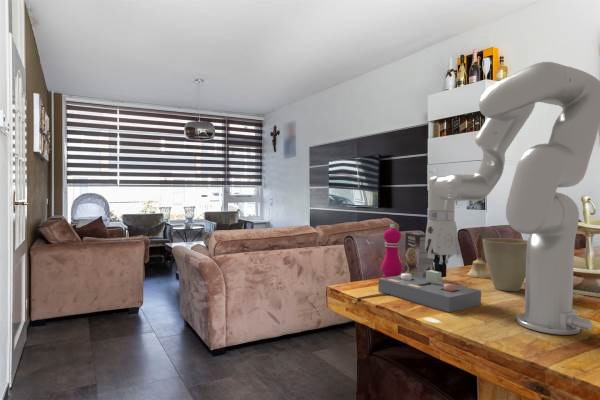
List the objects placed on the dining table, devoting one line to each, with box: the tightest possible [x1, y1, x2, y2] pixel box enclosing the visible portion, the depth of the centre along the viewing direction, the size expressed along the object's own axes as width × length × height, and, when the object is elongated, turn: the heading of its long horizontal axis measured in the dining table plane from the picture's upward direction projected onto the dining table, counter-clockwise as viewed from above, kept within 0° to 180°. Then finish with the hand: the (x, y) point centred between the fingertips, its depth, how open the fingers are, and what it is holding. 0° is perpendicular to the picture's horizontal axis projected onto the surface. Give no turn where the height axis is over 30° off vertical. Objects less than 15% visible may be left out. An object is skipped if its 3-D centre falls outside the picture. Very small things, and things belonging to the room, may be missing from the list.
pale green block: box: [426, 269, 442, 285], centre depth 121 cm, size 4×2×6 cm, turn 33°
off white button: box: [400, 272, 412, 281], centre depth 126 cm, size 3×3×2 cm
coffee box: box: [404, 231, 434, 278], centre depth 150 cm, size 9×6×16 cm
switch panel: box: [377, 274, 482, 313], centre depth 119 cm, size 26×14×4 cm, turn 33°
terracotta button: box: [444, 282, 457, 292], centre depth 112 cm, size 3×3×2 cm
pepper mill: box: [380, 223, 403, 278], centre depth 142 cm, size 7×7×20 cm
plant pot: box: [483, 237, 528, 292], centre depth 131 cm, size 15×15×16 cm
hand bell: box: [466, 233, 491, 279], centre depth 152 cm, size 8×8×16 cm
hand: (440, 276), depth 122 cm, fingers closed
